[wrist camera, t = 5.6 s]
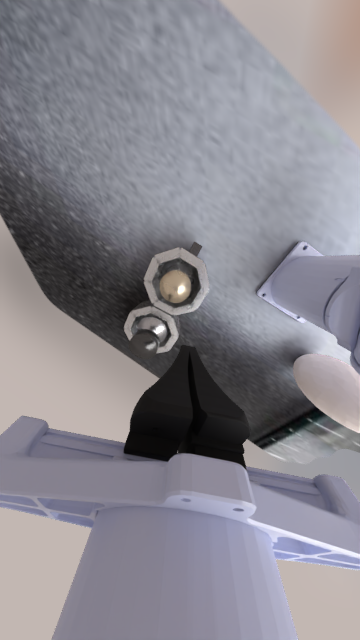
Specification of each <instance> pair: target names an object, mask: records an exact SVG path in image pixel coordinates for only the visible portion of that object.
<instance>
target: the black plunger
mask: <svg viewBox="0 0 360 640" xmlns="http://www.w3.org/2000/svg"><path fill="white" fill-rule="evenodd" d="M166 334H167V326H166V324H165V322H164V321H163V320H162V319H160V318H159V317H156V316H146V317H144V318H142V319H141V320H140V322H139V323H138V325H137V332H136V333H135V334H134V335H133V337H132V338H131V339H130V341H129V349H130V351H131V352H132V354H134V355H135V356H136V357H138V358H142V359H149V358H152V357H153V356H155V355H156V353H157V350H158V347H159V344H160V342H161V341H163V340H164V339H165V337H166Z"/></svg>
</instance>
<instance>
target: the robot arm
mask: <svg viewBox="0 0 360 640" xmlns="http://www.w3.org/2000/svg"><path fill="white" fill-rule="evenodd" d="M304 246H305V249H304V250H303V247H304ZM262 294H264V296H262ZM257 295H258V296H259V297H261V298H262V299H264V300H265V301H267V302H268V303H270V304H272V305H273V306H275V307H276V308H278V309H280V310H281V311H283V312H284V313H286V314H287V315H289V316H291V317H292V318H294V319H295V320H297V321H298V322H300V323H304V322H305V321H309V322H311V323H313V324H314V325H316V326H318V327H320V328H322V329H324V330H326V331H328V332H329V333H331V334H333V335H335V336H336V338H337V344H339V345H340V346H342V347H344V348H346V349H347V350H349V351H351V356H350V362H351V365H352V367H353V368H354V369H355V371H356V372H357V373H358V374H359V375H360V255H344V256H323V255H322V254H321V253H319V252H318V251H317V250H316V249H314V248H313V247H312V246H310V245H309V244H308V243H306V242H305V241H302V242H299V243H298V244H297V245H296V246H295V247H294V248H293V250H292V251H291V252H290V253H289V254H288V256H287V257H286V258H285V259H284V260H283V261H282V263H281V264H280V265H279V266H278V267H277V269H276V270H275V271H274V272H273V273H272V275H271V276H270V277H269V278H268V279H267V281H266V282H265V283H264V284H263V285H262V286H261V288H260V289H259V290H258V291H257ZM297 316H298V317H297ZM250 434H251V429H250V426H249V423H248V420H247V418H246V415H245V413H244V411H243V410H242V409H241V408H239V407H238V406H237V405H236V404H235V403H234V402H233V401H232V400H231V399H230V398H229V397H228V396H227V395H226V394H225V393H224V392H223V391H222V390H221V389H220V388H219V386H218V385H217V384H216V383H215V382H214V380H213V379H212V378H211V376H210V375H209V373H208V372H207V370H206V368H205V367H204V365H203V363H202V361H201V359H200V357H199V355H198V353H197V350H196V348H195V347H190V346H185V345H182V346H181V349H180V352H179V354H178V356H177V358H176V360H175V361H174V363H173V364H172V366H171V367H170V368H169V370H168V371H167V372H166V373H165V374H164V375H163V376H162V377H161V378H160V379H159V380H158V381H157V382H156V383H155V384H154V385H153V386H151V387H150V388H149V389H148V390H146V391H145V392H144V394H143V395H142V396H141V398H140V399H139V401H138V403H137V405H136V406H135V408H134V411H133V414H132V417H131V420H130V432H129V435H128V438H127V440H126V443H122V442H117V441H112V440H107V439H101V438H96V437H91V436H86V435H81V434H76V433H71V432H66V431H60V430H55V429H50V428H48V424H47V422H46V421H44V420H42V419H37V418H32V417H27V416H21V417H20V418H19V419H17V421H15V422H14V423H13V424H12V425H11V426H10V427H9V428H8V429H7V430H6V431H5V432H4V433H3V434H1V435H0V507H3V508H7V509H12V510H17V511H21V512H26V513H30V514H34V515H39V516H43V517H47V518H51V519H55V520H59V521H63V522H68V523H72V524H76V525H80V526H84V527H89V528H92V530H91V533H90V535H89V538H88V541H87V544H86V547H85V549H84V552H83V555H82V557H81V560H80V563H79V566H78V568H77V571H76V574H75V577H74V580H73V582H72V585H71V588H70V590H69V594H68V596H67V599H66V601H65V604H64V607H63V610H62V612H61V615H60V618H59V621H58V624H57V626H56V629H55V632H54V635H53V637H52V640H298V637H297V633H296V630H295V626H294V623H293V619H292V616H291V612H290V609H289V605H288V601H287V598H286V595H285V591H284V587H283V584H282V580H281V577H280V573H279V570H278V566H277V563H276V559H280V560H289V561H296V562H305V563H313V564H320V565H328V566H335V567H342V568H347V569H353V570H360V502H359V501H358V499H357V497H356V496H355V495H354V493H353V492H352V490H351V489H350V487H349V486H348V485H347V483H346V482H345V480H344V479H342V478H341V477H335V476H330V475H318V476H316V477H315V478H314V479H309V478H303V477H298V476H293V475H288V474H283V473H278V472H272V471H267V470H262V469H257V468H251V467H247V466H246V465H245V461H244V457H243V454H244V448H243V445H242V444H243V443H244V442H245V441H246V439H247V438H248V437H249V435H250ZM177 451H178V453H177Z"/></svg>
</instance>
